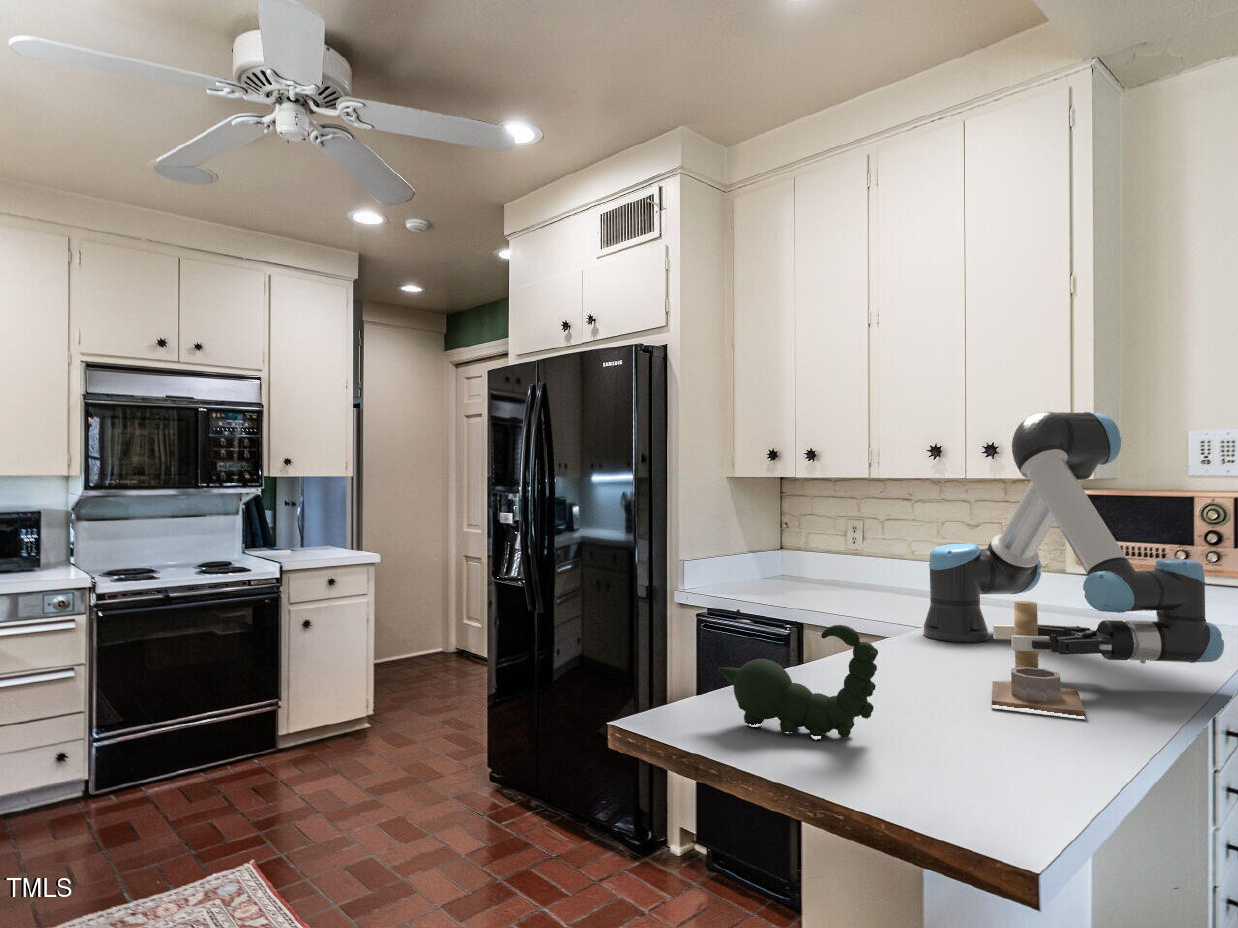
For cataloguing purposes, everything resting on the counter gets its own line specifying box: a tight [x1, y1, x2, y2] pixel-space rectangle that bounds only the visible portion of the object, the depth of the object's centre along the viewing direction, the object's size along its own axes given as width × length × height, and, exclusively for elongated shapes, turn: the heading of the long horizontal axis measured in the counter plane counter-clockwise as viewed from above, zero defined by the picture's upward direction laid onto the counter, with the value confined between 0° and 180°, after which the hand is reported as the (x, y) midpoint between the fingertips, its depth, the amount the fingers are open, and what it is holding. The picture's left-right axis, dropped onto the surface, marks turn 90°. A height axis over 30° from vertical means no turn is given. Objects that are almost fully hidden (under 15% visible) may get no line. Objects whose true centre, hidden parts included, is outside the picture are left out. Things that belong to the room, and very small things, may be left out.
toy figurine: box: [717, 624, 879, 738], centre depth 120 cm, size 9×19×25 cm
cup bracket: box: [991, 667, 1086, 718], centre depth 134 cm, size 14×14×6 cm
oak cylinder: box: [1013, 600, 1039, 668], centre depth 147 cm, size 4×4×16 cm
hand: (1002, 637), depth 148 cm, fingers open, 10 cm apart
